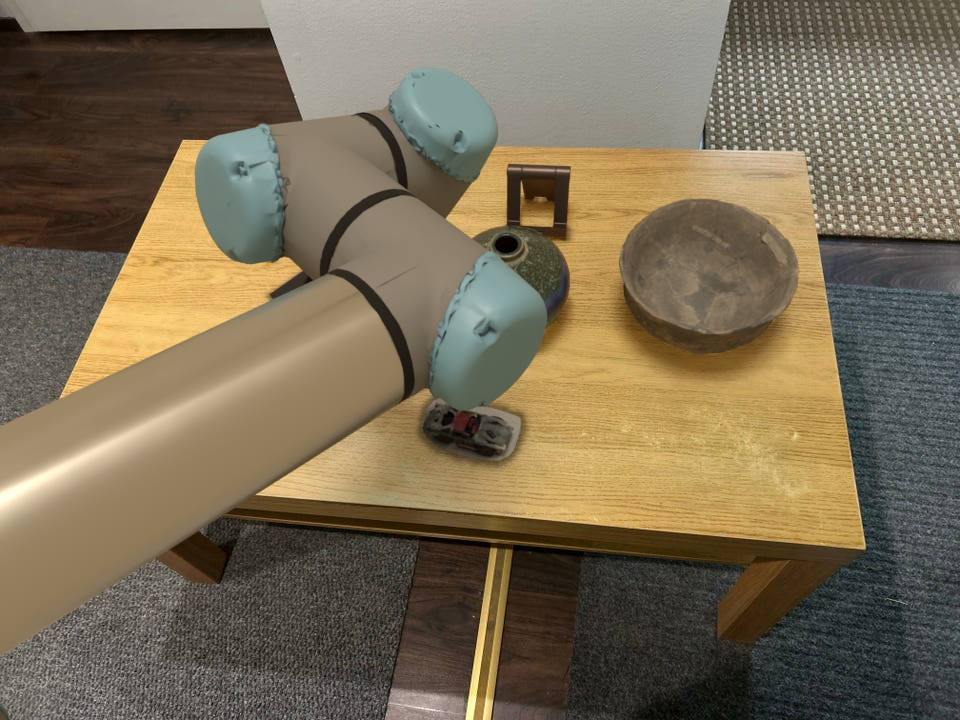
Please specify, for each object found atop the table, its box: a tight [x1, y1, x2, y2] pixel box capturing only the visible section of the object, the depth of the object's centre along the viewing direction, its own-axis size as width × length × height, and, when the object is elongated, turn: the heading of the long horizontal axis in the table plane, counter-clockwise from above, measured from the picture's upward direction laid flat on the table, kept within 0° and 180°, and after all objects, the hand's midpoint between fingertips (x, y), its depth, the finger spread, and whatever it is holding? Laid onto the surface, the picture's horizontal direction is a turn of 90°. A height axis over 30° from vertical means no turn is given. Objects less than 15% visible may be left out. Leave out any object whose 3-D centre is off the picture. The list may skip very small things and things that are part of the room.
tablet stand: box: [504, 163, 572, 239], centre depth 97 cm, size 9×8×8 cm
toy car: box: [422, 398, 522, 462], centre depth 82 cm, size 8×12×3 cm
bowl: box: [618, 197, 800, 356], centre depth 86 cm, size 21×21×10 cm
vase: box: [471, 225, 571, 330], centre depth 87 cm, size 15×15×13 cm
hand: (302, 361), depth 72 cm, fingers open, 13 cm apart
